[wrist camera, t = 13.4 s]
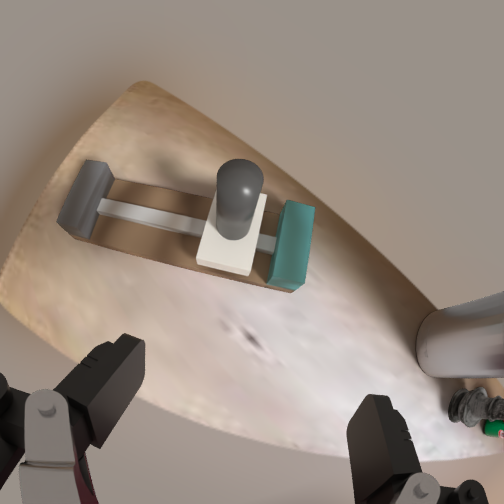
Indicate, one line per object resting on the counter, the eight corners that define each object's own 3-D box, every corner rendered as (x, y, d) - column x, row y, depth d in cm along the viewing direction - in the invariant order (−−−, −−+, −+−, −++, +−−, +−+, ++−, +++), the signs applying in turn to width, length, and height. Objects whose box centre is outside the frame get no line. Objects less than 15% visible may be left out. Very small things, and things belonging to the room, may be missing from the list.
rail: (301, 226, 33) (315, 207, 28) (291, 293, 30) (304, 283, 26) (99, 182, 32) (86, 159, 27) (75, 238, 29) (56, 222, 24)
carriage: (264, 204, 30) (284, 143, 21) (248, 276, 27) (265, 238, 18) (217, 193, 30) (220, 129, 20) (197, 264, 27) (187, 220, 18)
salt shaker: (447, 394, 28) (512, 397, 17) (471, 381, 29) (532, 379, 18) (446, 430, 26) (507, 441, 15) (470, 415, 27) (528, 420, 16)
